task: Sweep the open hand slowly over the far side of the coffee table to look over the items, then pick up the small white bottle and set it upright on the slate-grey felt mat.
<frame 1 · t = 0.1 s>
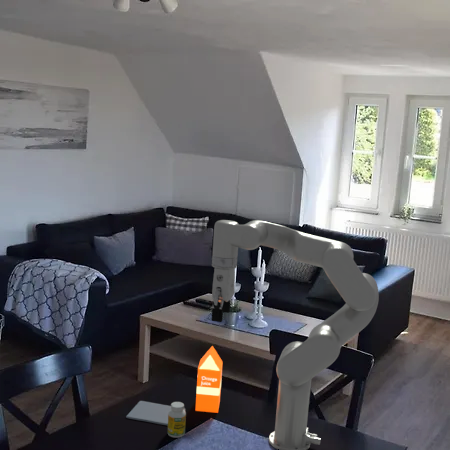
hand: (220, 316, 193), 37 cm above the table, tool pointing down, fingers open, 9 cm apart
orange juice: (207, 406, 215), on the table
felt mat: (156, 414, 206), on the table
supplement bottle: (176, 434, 194), on the table
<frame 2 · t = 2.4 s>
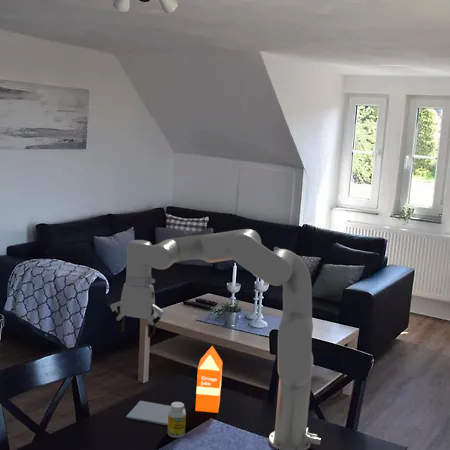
hand: (136, 334, 197), 28 cm above the table, tool pointing down, fingers open, 9 cm apart
nothing on the table moved.
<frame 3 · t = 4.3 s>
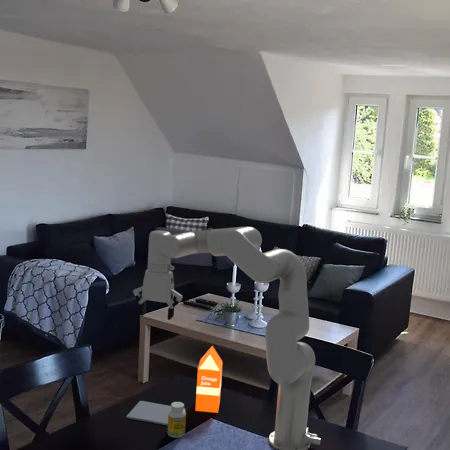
hand: (156, 316, 215), 28 cm above the table, tool pointing down, fingers open, 9 cm apart
nothing on the table moved.
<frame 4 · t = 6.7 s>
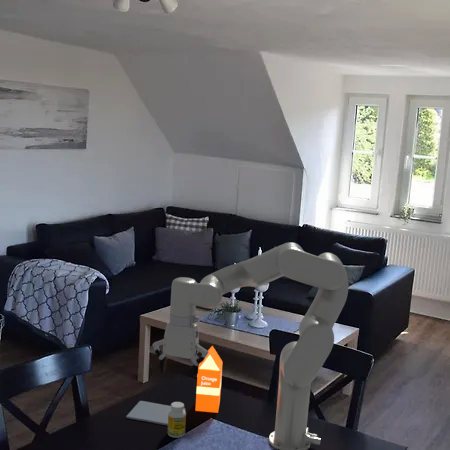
hand: (178, 373, 191), 19 cm above the table, tool pointing down, fingers open, 9 cm apart
nothing on the table moved.
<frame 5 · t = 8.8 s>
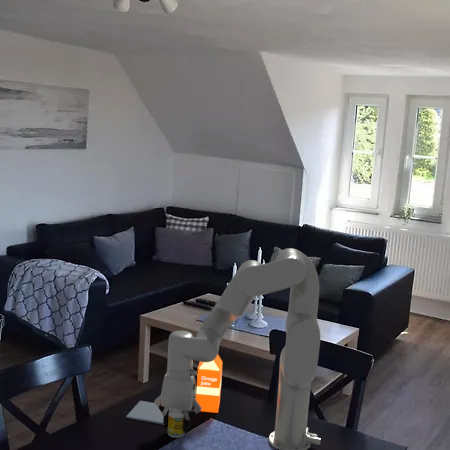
hand: (176, 427, 194), 2 cm above the table, tool pointing down, fingers closed on supplement bottle, 5 cm apart
supplement bottle: (176, 434, 194), on the table, touching gripper
everything else where it was.
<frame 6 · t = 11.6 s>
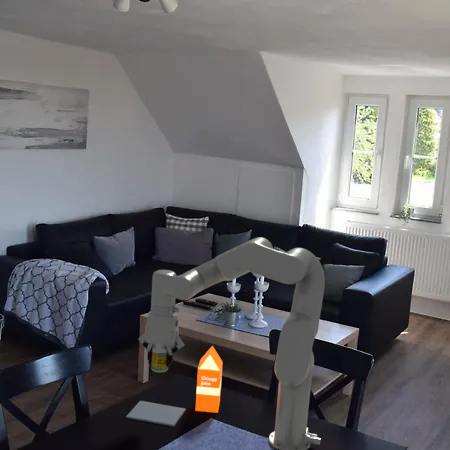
hand: (159, 363, 203), 18 cm above the table, tool pointing down, fingers closed on supplement bottle, 5 cm apart
supplement bottle: (159, 370, 203), point 15 cm above the table, touching gripper
everything else where it was.
when the fingers open (4 cm above the table, at t = 14.6 s): supplement bottle drops 2 cm, resting on felt mat.
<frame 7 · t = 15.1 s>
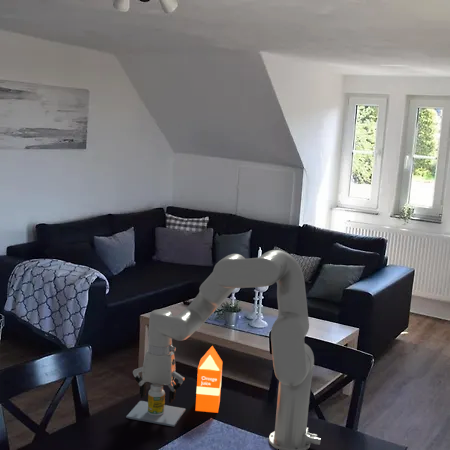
hand: (157, 398, 205), 5 cm above the table, tool pointing down, fingers open, 9 cm apart
supplement bottle: (155, 412, 206), resting on felt mat
everything else where it was.
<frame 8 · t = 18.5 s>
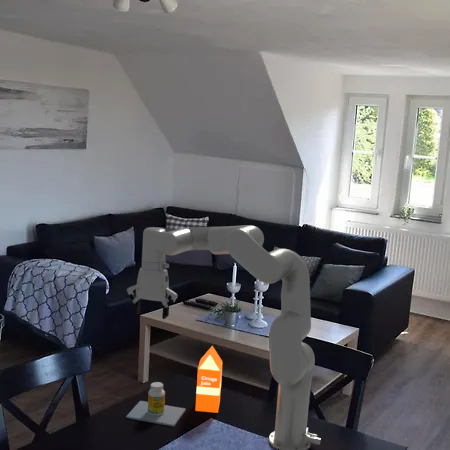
hand: (150, 316, 209), 30 cm above the table, tool pointing down, fingers open, 9 cm apart
nothing on the table moved.
at the end: supplement bottle inside the target area on the felt mat (0.2 cm from its centre), point 0.4 cm above the felt mat's base; supplement bottle tilted 0°; the gripper is holding nothing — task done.
